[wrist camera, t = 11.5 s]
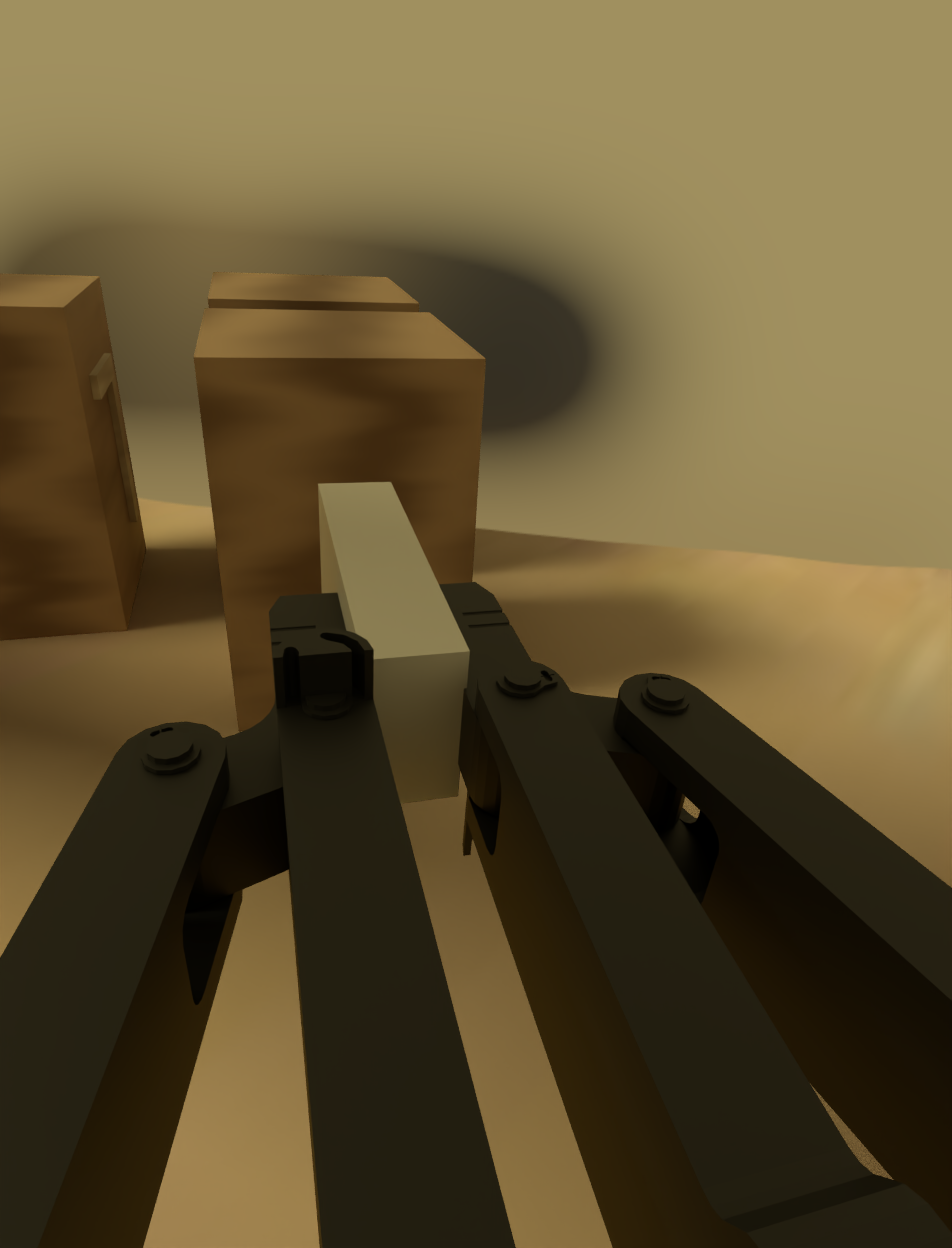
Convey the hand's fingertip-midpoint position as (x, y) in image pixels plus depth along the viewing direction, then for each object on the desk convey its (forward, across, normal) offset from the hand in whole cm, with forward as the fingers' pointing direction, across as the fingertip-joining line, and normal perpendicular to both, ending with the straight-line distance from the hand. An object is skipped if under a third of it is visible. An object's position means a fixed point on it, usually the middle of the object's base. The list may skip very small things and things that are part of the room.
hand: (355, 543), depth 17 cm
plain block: (+14, +1, -12) cm, 19 cm away
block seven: (+23, -13, -13) cm, 29 cm away
